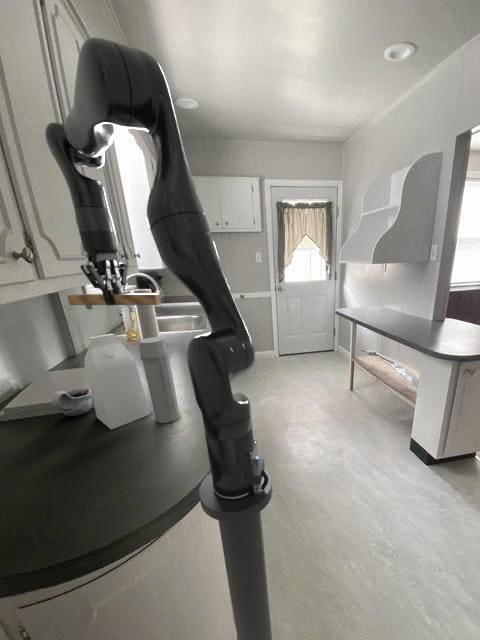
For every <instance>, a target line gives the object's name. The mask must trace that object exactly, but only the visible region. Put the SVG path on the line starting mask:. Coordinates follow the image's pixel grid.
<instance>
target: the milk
mask: <svg viewBox="0 0 480 640" xmlns="http://www.w3.org/2000/svg"><path fill="white" fill-rule="evenodd" d="M83 363H84V368H85V372H86V377H87V381H88V385H89V390H90V391H91V398H92V401H93V406H94V411H95V415H96V419H98V420H99V421H100V422H101V423H103V424H104V425H105V426H106V427H107V428H109V430H114V429H116V428H120V427H122V426H124V425H127V424H129V423H132V422H135V421H138V420H141V419H143V418H145V417H148V416H151V414H152V413H151V410H150V406H149V403H148V399H147V396H146V392H145V389H144V385H143V383H142V378H141V376H140V373H139V369H138V368H139V367H138V366H137V362H136V360H135V358H134V356H133V354H132V353H131V352H130V351H129V350H128V349H127V348H126V347H125V346H124V344H123V343H122V342H121V341H120V340H119V338H118V337H117V336H116V335H115V334H114V333H108V334H107V333H106V334H103V335H102V334H101V335H96V336H91V337H89V343H88V349H87V351H86V354H85V357H84V359H83Z"/></svg>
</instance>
